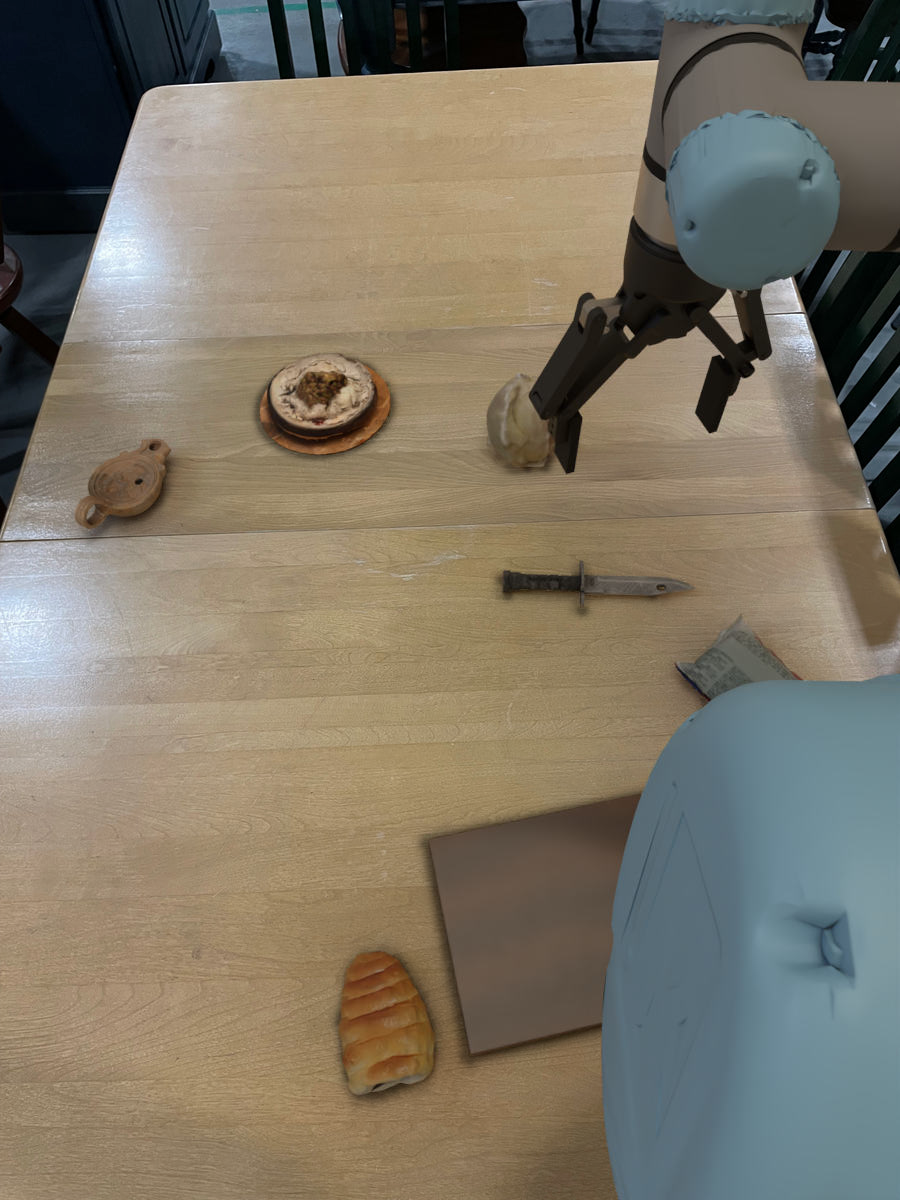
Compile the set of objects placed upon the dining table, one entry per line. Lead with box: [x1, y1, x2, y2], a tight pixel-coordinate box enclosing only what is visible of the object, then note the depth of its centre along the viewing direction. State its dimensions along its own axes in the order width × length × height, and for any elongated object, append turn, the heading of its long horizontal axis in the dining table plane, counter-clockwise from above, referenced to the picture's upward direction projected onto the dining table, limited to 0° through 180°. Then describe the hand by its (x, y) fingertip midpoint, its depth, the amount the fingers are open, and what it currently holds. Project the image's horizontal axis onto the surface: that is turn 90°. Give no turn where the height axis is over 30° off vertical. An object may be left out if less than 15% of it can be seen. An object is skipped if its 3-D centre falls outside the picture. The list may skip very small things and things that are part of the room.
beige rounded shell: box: [486, 372, 555, 468], centre depth 90 cm, size 9×8×10 cm
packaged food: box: [674, 613, 804, 703], centre depth 75 cm, size 9×12×5 cm
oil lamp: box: [74, 438, 172, 530], centre depth 89 cm, size 13×8×5 cm, turn 150°
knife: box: [502, 560, 696, 608], centre depth 83 cm, size 19×2×5 cm
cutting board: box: [427, 793, 642, 1057], centre depth 67 cm, size 16×24×1 cm, turn 102°
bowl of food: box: [259, 352, 391, 456], centre depth 96 cm, size 15×15×4 cm
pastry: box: [337, 950, 436, 1096], centre depth 62 cm, size 9×7×4 cm
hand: (635, 442), depth 74 cm, fingers open, 13 cm apart
